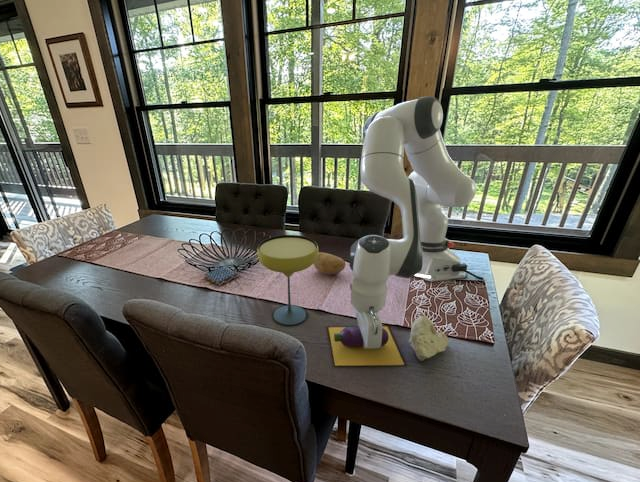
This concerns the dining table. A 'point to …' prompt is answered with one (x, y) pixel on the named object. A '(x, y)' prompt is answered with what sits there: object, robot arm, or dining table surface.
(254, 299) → the dining table surface
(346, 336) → the eggplant
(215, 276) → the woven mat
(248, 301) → the dining table surface
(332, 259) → the potato
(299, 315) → the cocktail glass
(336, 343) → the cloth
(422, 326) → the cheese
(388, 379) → the dining table surface
